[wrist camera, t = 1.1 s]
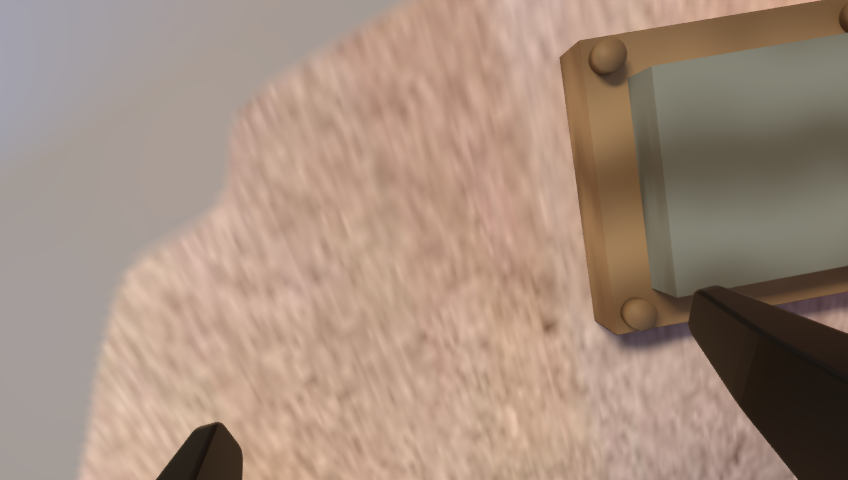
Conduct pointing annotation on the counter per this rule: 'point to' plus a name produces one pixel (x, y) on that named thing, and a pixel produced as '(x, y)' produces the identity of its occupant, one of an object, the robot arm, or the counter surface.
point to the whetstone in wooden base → (712, 160)
